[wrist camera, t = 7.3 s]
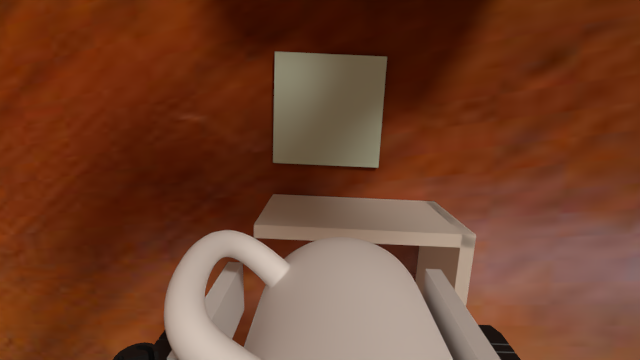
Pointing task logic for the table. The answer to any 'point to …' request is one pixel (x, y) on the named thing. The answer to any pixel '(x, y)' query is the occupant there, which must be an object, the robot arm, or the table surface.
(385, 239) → the cubby
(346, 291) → the cup
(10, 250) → the table surface
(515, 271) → the table surface
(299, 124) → the mat
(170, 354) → the robot arm
